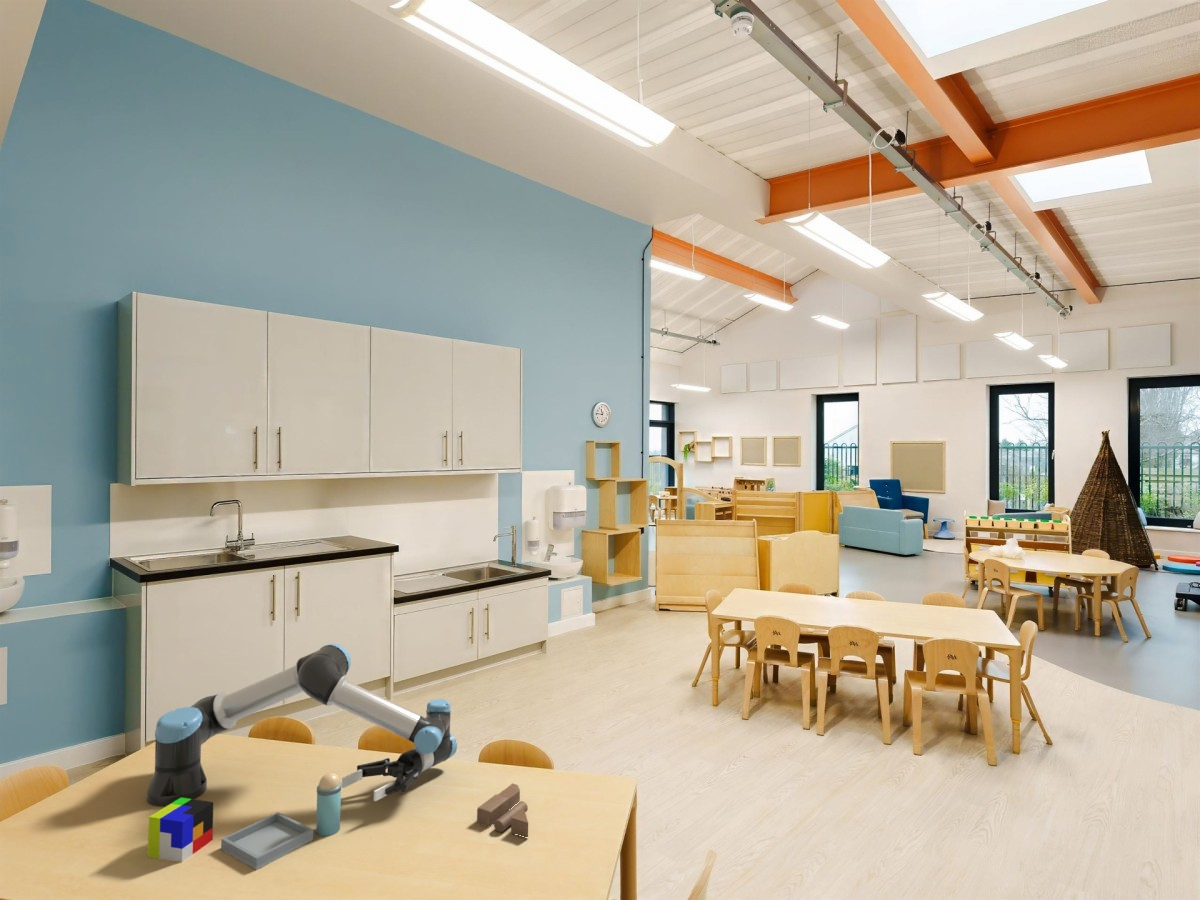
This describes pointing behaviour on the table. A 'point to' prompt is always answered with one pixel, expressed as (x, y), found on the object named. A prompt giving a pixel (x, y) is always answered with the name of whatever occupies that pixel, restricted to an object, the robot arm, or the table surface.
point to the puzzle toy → (180, 829)
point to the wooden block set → (505, 812)
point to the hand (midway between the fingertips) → (358, 789)
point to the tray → (266, 840)
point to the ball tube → (328, 805)
